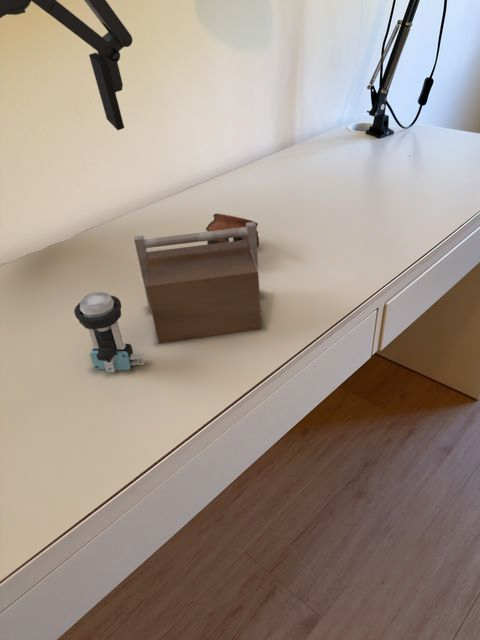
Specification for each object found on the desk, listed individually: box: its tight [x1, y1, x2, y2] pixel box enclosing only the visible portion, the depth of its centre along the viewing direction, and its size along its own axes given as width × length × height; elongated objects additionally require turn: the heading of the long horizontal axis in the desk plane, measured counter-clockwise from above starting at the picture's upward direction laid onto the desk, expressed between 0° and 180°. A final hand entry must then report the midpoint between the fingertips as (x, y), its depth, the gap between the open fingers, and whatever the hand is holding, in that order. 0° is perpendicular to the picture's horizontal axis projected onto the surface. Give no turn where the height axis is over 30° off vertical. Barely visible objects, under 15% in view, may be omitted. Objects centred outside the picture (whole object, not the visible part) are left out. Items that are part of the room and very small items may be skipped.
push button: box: [73, 291, 146, 373], centre depth 64 cm, size 7×5×10 cm
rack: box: [133, 221, 262, 344], centre depth 71 cm, size 9×16×12 cm, turn 100°
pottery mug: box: [205, 213, 260, 248], centre depth 86 cm, size 12×10×8 cm
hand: (53, 146), depth 53 cm, fingers open, 13 cm apart
